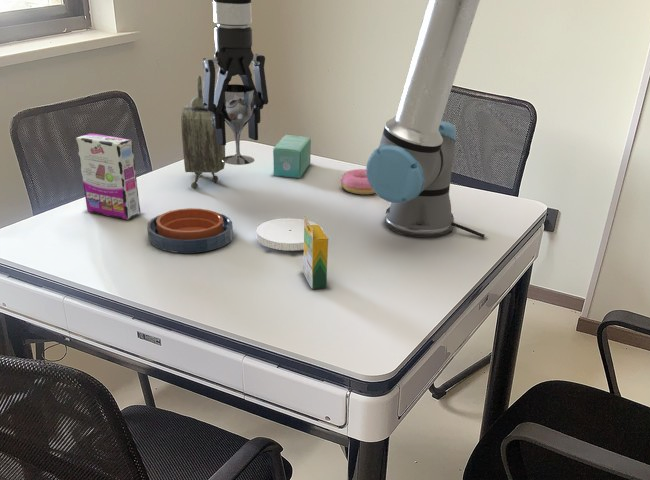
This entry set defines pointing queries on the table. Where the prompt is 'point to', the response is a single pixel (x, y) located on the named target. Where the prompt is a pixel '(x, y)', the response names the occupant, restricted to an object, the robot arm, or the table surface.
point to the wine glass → (238, 117)
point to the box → (291, 156)
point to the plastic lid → (282, 234)
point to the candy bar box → (108, 175)
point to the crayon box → (315, 255)
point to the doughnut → (356, 182)
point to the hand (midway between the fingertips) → (237, 141)
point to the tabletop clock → (200, 139)
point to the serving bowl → (190, 244)
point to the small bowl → (189, 224)
